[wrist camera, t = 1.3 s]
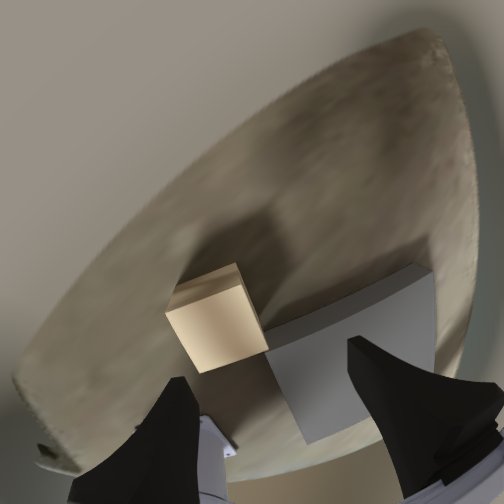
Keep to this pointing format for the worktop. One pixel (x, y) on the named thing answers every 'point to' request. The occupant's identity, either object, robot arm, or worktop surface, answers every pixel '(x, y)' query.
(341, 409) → the plate
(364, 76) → the worktop surface
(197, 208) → the worktop surface
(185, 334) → the birch block
